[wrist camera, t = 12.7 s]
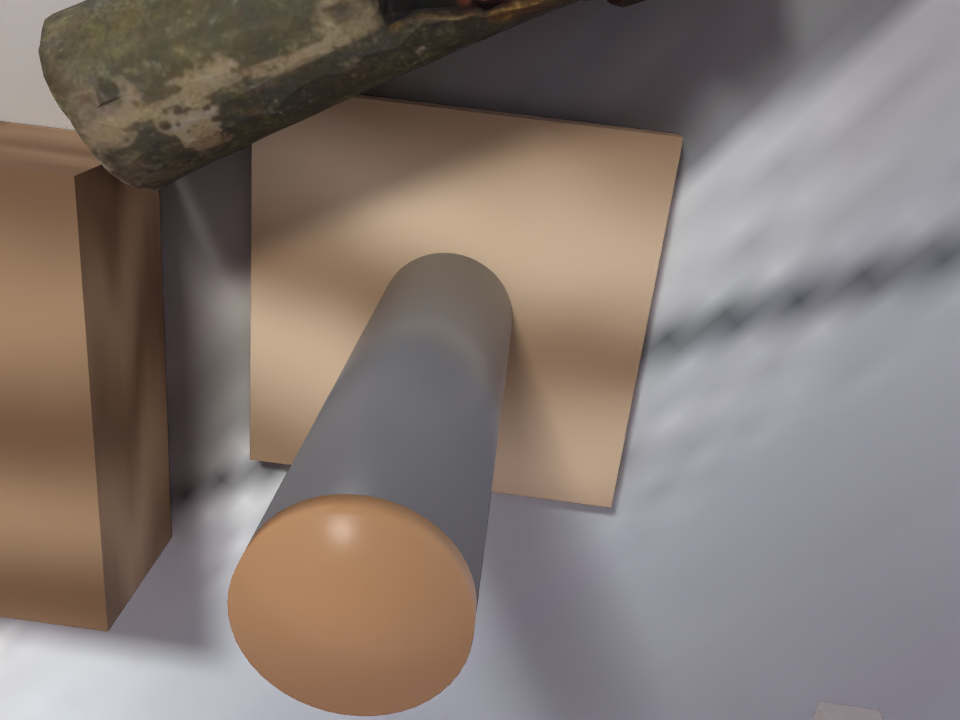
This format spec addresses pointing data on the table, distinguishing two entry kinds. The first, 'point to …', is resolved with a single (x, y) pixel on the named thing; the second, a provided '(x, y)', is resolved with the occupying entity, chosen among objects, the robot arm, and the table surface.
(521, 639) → the table surface
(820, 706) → the robot arm
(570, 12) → the table surface
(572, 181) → the light brown wooden board
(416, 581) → the plug
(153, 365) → the socket block
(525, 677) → the table surface
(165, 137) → the brown lumpy club
